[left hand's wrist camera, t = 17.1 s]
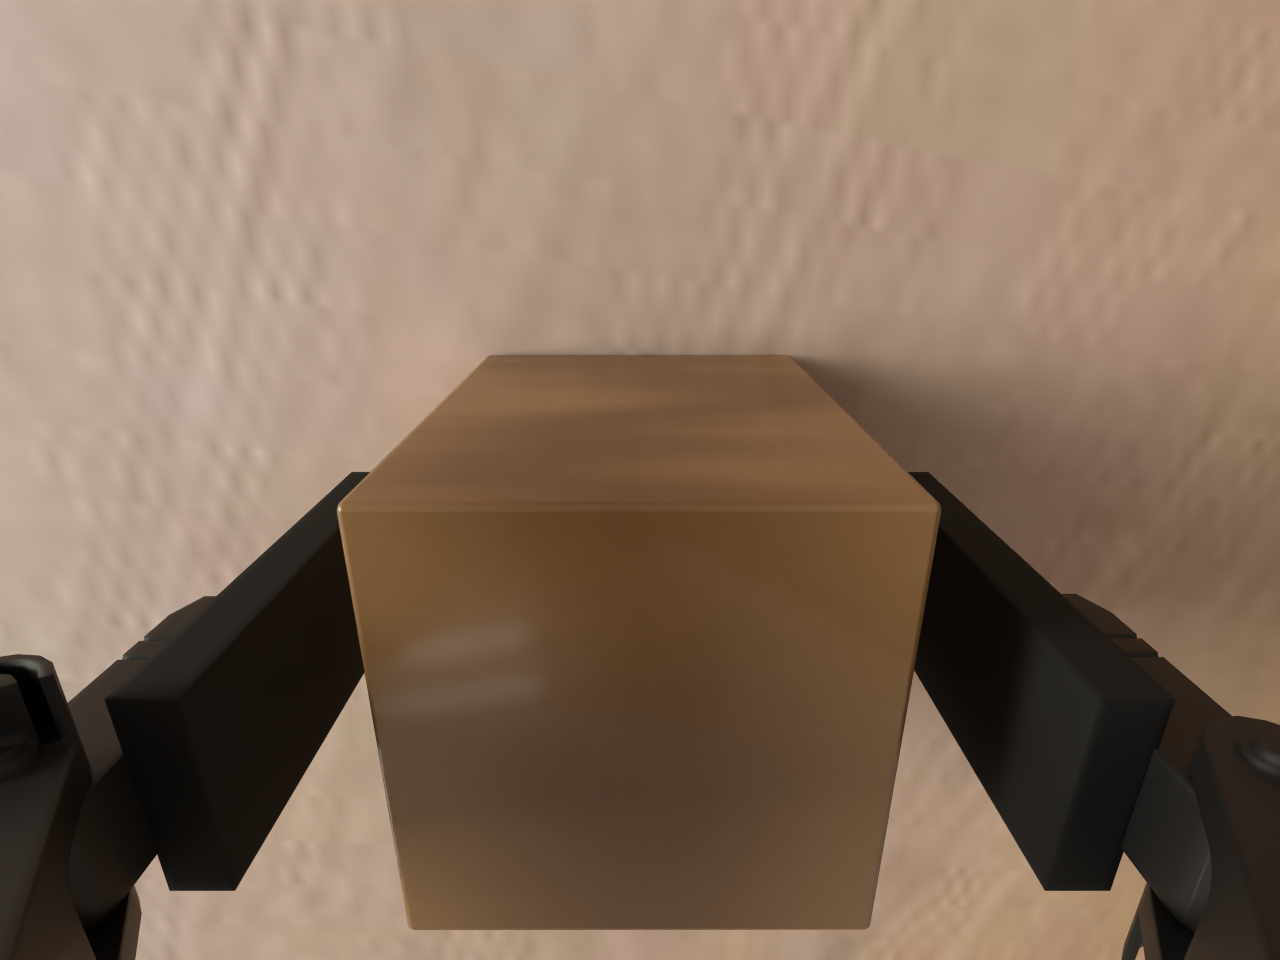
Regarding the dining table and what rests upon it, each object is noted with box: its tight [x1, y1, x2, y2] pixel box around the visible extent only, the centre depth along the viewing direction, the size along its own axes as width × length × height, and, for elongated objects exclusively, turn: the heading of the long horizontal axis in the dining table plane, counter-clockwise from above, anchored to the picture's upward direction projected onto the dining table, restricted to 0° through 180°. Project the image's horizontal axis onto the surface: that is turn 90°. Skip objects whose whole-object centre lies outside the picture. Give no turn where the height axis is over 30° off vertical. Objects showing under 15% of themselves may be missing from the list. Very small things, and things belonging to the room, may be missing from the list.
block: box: [337, 355, 941, 930], centre depth 12 cm, size 6×6×8 cm
